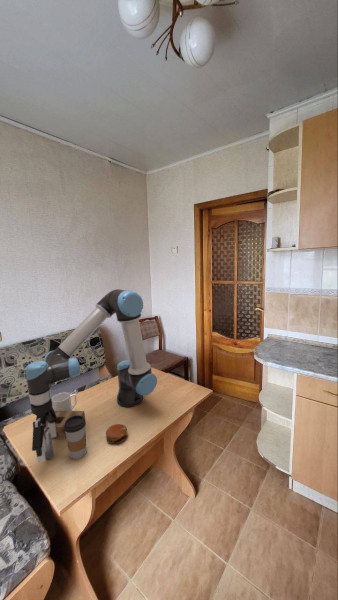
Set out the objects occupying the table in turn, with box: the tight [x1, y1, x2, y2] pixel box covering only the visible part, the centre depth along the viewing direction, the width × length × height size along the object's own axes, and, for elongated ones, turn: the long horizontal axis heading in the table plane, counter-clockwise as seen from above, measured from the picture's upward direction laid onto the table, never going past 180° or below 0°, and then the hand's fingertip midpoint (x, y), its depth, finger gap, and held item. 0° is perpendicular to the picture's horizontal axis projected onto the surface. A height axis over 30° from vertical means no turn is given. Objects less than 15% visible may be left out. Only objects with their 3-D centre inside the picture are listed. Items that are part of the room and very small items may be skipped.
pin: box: [42, 427, 55, 461], centre depth 101 cm, size 4×4×12 cm
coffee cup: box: [64, 415, 87, 460], centre depth 102 cm, size 8×8×15 cm
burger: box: [105, 423, 128, 444], centre depth 111 cm, size 10×9×5 cm
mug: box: [51, 391, 78, 411], centre depth 129 cm, size 12×9×11 cm
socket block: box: [41, 410, 86, 440], centre depth 117 cm, size 16×12×6 cm
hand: (47, 448), depth 101 cm, fingers open, 13 cm apart
